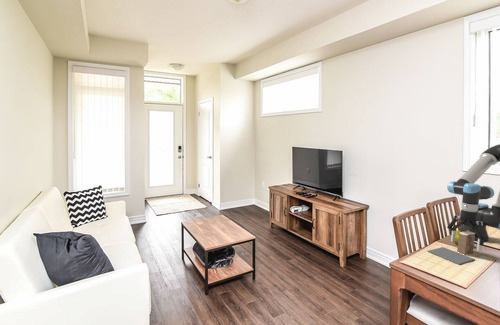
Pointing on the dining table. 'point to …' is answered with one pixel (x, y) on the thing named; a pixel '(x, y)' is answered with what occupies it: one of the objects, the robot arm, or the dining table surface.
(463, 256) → the felt pad
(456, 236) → the fruit
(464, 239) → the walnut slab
